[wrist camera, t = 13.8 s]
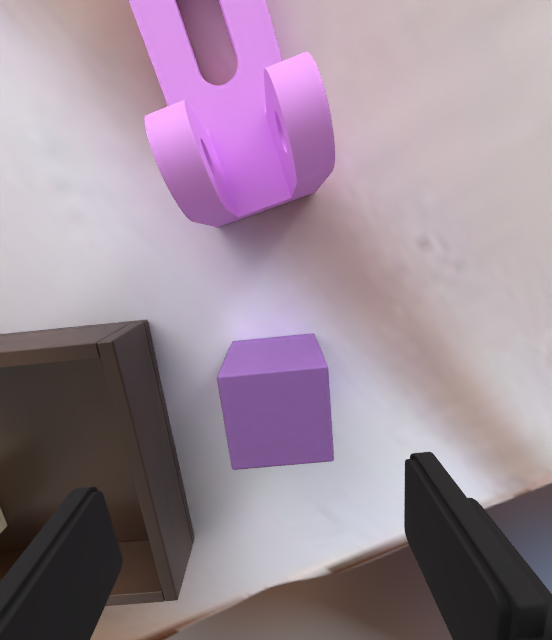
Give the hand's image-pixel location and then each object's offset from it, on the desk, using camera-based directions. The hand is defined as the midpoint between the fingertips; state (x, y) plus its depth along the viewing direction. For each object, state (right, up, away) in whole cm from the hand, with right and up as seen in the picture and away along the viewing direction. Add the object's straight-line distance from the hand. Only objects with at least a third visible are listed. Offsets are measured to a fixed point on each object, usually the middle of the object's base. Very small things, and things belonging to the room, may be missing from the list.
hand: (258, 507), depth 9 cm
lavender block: (+1, +2, +10) cm, 10 cm away
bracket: (-2, +18, +6) cm, 19 cm away
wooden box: (-16, -3, +11) cm, 20 cm away
